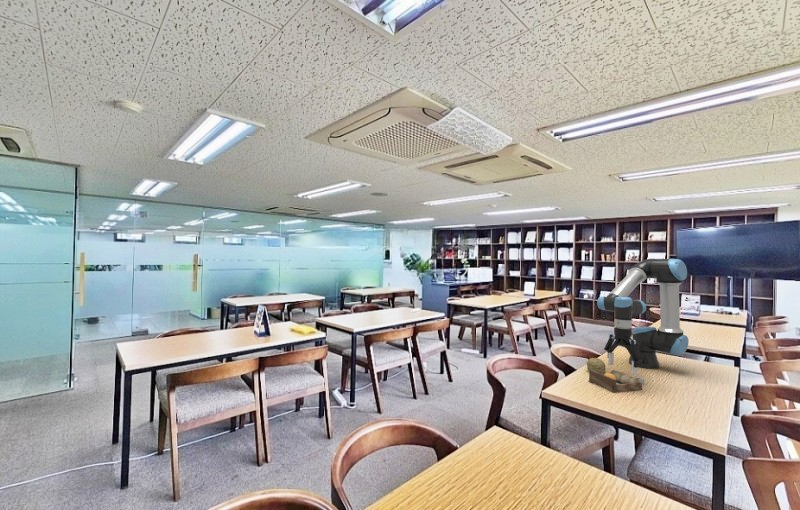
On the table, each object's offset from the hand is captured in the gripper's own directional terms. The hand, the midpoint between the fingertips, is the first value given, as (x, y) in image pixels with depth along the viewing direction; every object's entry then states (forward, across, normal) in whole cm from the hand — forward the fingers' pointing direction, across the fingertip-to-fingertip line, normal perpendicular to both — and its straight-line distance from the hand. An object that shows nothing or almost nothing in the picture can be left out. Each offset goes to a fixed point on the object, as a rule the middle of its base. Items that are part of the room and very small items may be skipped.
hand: (622, 369), depth 176 cm
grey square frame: (+8, 0, +10) cm, 13 cm away
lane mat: (+8, 0, -4) cm, 9 cm away
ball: (+4, 0, -8) cm, 9 cm away
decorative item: (+8, -19, +2) cm, 21 cm away
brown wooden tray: (+8, 0, -4) cm, 9 cm away
